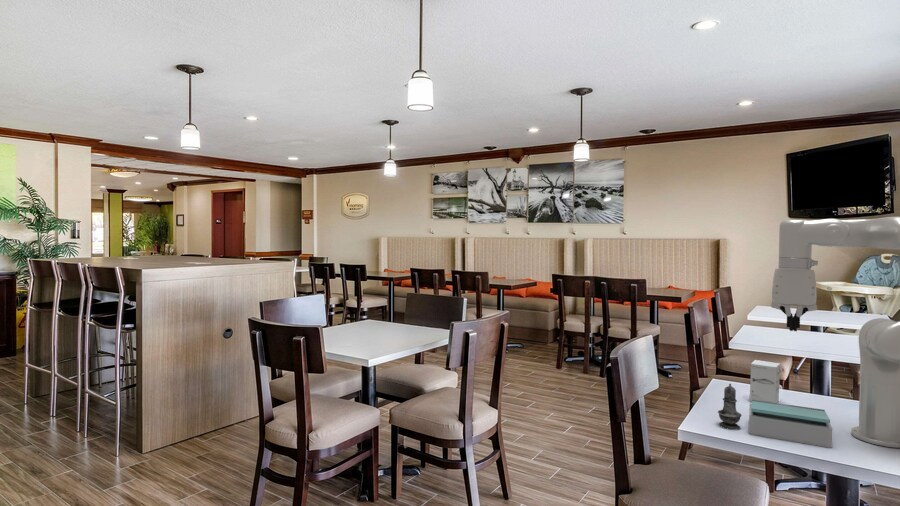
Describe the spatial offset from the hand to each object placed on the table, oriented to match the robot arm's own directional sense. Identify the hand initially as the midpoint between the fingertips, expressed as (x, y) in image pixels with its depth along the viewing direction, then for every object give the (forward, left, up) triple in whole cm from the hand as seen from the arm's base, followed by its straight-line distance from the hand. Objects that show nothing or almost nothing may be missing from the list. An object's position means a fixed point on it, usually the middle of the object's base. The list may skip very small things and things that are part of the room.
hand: (793, 330), depth 143 cm
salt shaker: (+15, +8, -27) cm, 32 cm away
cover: (+1, +6, -22) cm, 22 cm away
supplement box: (+6, -23, -27) cm, 36 cm away
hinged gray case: (+1, +6, -27) cm, 28 cm away
